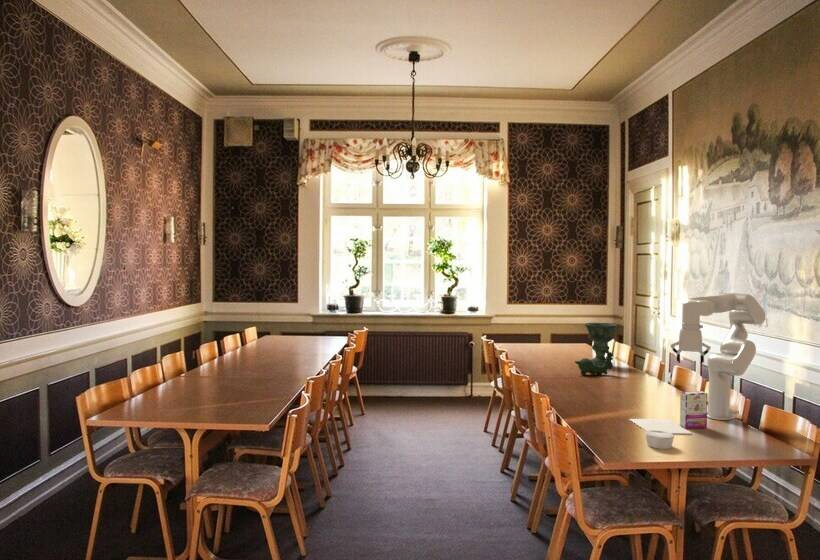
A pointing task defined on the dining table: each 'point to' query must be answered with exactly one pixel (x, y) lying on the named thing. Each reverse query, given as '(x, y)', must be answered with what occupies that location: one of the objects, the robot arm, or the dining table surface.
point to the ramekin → (659, 439)
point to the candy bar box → (693, 409)
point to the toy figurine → (592, 368)
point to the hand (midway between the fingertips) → (690, 363)
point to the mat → (660, 425)
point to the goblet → (600, 339)
